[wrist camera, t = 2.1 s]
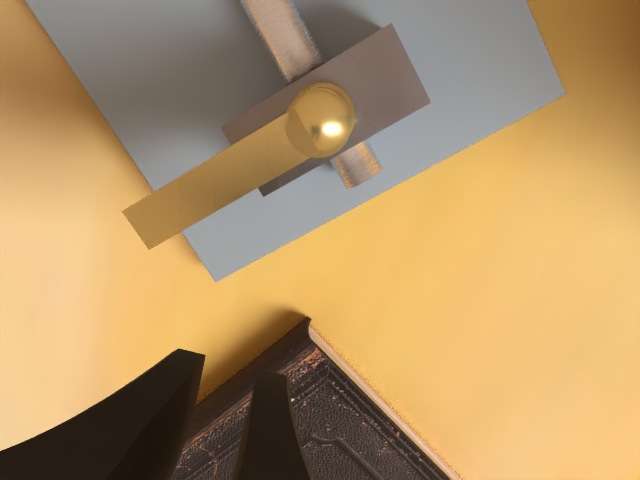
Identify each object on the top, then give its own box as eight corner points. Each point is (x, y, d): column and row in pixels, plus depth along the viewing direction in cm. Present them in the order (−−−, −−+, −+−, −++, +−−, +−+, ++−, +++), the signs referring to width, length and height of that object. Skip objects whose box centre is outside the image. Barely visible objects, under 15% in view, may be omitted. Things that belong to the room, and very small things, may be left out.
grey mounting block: (419, 97, 17) (431, 102, 14) (276, 178, 18) (263, 197, 16) (385, 30, 17) (391, 22, 14) (240, 118, 18) (220, 127, 15)
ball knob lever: (366, 127, 15) (369, 138, 12) (184, 230, 16) (155, 259, 14) (335, 69, 14) (332, 70, 12) (151, 181, 16) (115, 201, 13)
